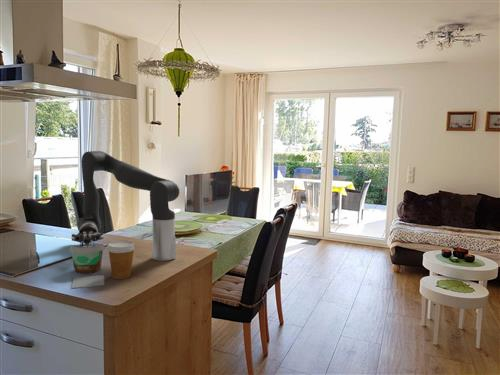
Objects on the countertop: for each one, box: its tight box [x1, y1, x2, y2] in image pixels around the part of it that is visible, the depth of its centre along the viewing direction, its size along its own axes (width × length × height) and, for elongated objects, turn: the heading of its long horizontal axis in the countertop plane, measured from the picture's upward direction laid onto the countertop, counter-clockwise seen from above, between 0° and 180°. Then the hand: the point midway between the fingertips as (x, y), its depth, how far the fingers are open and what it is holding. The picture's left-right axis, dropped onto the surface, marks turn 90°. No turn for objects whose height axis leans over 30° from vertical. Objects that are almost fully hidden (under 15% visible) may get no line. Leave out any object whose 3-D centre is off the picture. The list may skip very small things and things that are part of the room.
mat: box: [71, 274, 105, 290], centre depth 130 cm, size 10×10×1 cm
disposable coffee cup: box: [107, 240, 136, 280], centre depth 136 cm, size 10×10×12 cm
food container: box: [69, 243, 106, 275], centre depth 139 cm, size 12×6×10 cm, turn 105°
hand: (87, 241), depth 149 cm, fingers closed
